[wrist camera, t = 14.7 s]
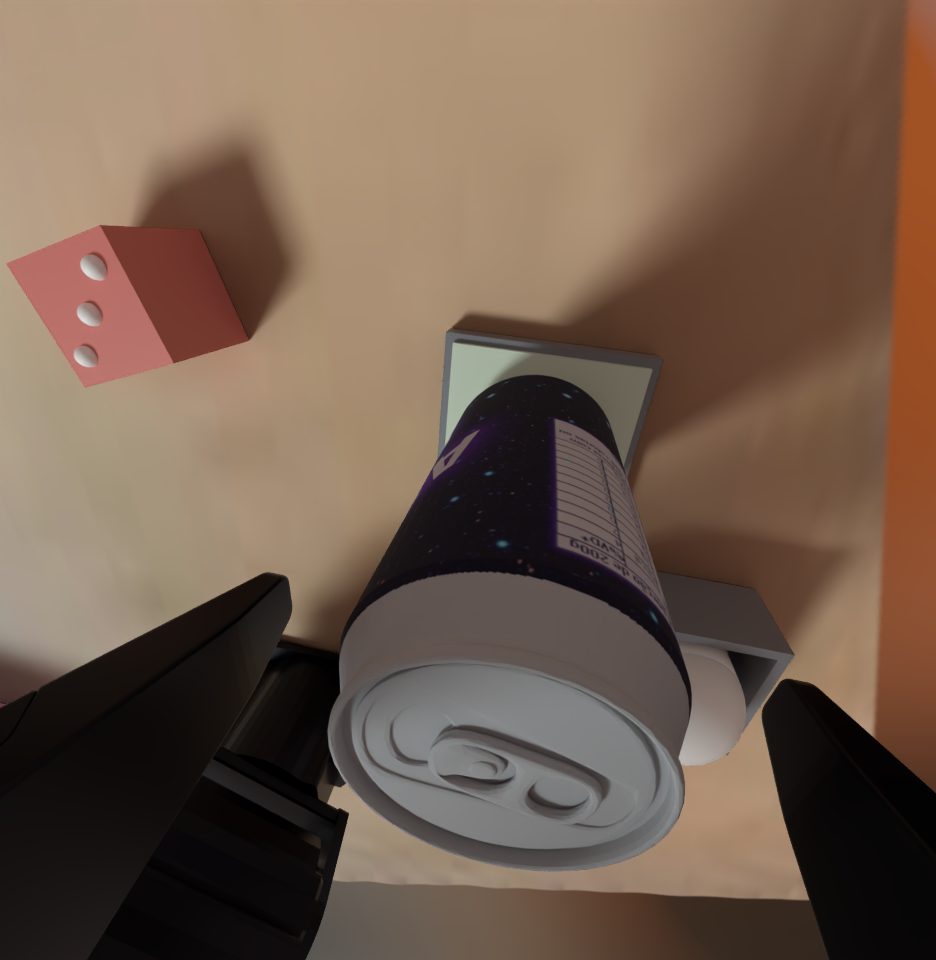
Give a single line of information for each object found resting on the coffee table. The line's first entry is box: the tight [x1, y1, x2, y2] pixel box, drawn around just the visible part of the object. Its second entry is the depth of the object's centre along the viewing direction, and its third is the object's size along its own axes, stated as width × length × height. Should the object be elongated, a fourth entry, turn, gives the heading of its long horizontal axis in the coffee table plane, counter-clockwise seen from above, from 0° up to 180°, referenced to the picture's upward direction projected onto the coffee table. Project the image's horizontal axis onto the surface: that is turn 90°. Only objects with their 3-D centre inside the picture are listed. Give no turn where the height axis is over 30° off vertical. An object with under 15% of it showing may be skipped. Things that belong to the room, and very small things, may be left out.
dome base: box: [656, 571, 794, 755], centre depth 19 cm, size 6×6×4 cm
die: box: [6, 225, 249, 388], centre depth 15 cm, size 4×4×4 cm
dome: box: [678, 640, 746, 766], centre depth 18 cm, size 5×5×5 cm
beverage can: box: [328, 375, 692, 871], centre depth 11 cm, size 6×6×12 cm
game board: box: [438, 328, 663, 477], centre depth 20 cm, size 7×21×1 cm, turn 174°
